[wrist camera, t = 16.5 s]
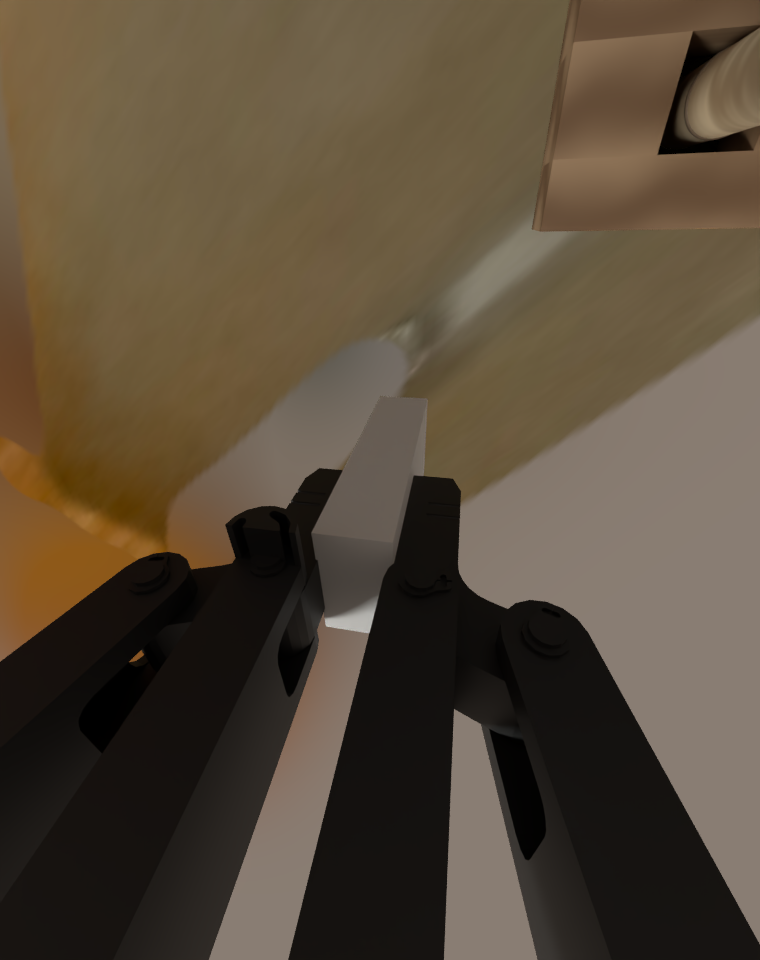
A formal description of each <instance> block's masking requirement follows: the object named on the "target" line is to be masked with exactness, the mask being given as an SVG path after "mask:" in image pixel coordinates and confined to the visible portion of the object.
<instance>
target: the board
mask: <svg viewBox="0 0 760 960" xmlns="http://www.w3.org/2000/svg"><path fill="white" fill-rule="evenodd" d="M758 28H760V0H570V2H569V8H568V14H567V20H566V26H565V32H564V38H563V44H562V50H561V56H560V62H559V68H558V75H557V81H556V87H555V93H554V99H553V105H552V111H551V117H550V123H549V129H548V135H547V141H546V147H545V153H544V159H543V165H542V171H541V177H540V183H539V190H538V196H537V202H536V208H535V214H534V220H533V226H532V229H533V230H537V231H601V230H661V229H721V228H760V126H756V127H753V128H750V129H746V130H743V131H740V132H737V133H733V134H731V135H729V136H726V137H724V138H720V140H719V143H718V146H717V149H716V152H710V153H689V154H667V155H657V154H658V150H659V147H660V143H661V140H662V136H663V133H664V129H665V126H666V123H667V119H668V116H669V112H670V109H671V105H672V102H673V98H674V95H675V91H676V88H677V85H678V81H679V78H680V74H681V71H682V67H683V64H684V60H685V57H697V56H709V55H716V54H718V53H719V52H721V51H722V50H724V49H725V48H727V47H729V46H731V45H733V44H735V43H737V42H738V41H740V40H741V39H743V38H744V37H746V36H748V35H749V34H751V33H752V32H754V31H755V30H757V29H758Z"/></svg>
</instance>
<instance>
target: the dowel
mask: <svg viewBox="0 0 760 960" xmlns="http://www.w3.org/2000/svg"><path fill="white" fill-rule="evenodd" d="M756 126H760V28H758V29H757V30H755V31H754V32H752V33H751V34H749V35H748V36H746V37H744V38H743V39H741V40H740V41H738V42H737V43H735V44H733V45H731V46H729V47H727V48H725V49H724V50H722V51H721V52H719V53H718V54H716V55H715V56H714V57H713V58H712V59H710V60H709V61H707V62H706V63H704V64H702V65H701V66H699V67H698V68H696V69H695V70H693V71H692V72H690V73H688V74H687V75H685V76H684V77H682V78H681V79H679V81H678V85H677V88H676V91H675V95H674V98H673V102H672V105H671V109H670V112H669V116H668V119H667V123H666V126H665V129H664V133H663V136H662V140H661V143H660V145H661V146H662V147H664V148H666V149H669V150H680V149H684V148H687V147H690V146H694V145H697V144H700V143H704V142H707V141H710V140H717V139H720V138H724V137H726V136H729V135H731V134H733V133H737V132H740V131H743V130H746V129H750V128H753V127H756Z"/></svg>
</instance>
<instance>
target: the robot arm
mask: <svg viewBox="0 0 760 960" xmlns="http://www.w3.org/2000/svg"><path fill="white" fill-rule="evenodd" d="M427 400H428V399H422V398H404V397H385V396H384V397H383V396H380V398H379V400H378V402H377V404H376V406H375V408H374V410H373V412H372V414H371V416H370V418H369V420H368V422H367V424H366V426H365V428H364V430H363V432H362V434H361V436H360V438H359V439H358V441H357V443H356V445H355V447H354V449H353V451H352V453H351V455H350V457H349V459H348V461H347V463H346V465H345V467H344V469H343V470H333V469H322V468H319V469H318V470H317V471H315V472H314V473H312V474H311V475H309V476H308V477H306V478H305V480H304V481H303V483H302V485H301V486H300V488H299V489H298V493H296V494H295V496H294V497H293V499H292V500H291V503H290V504H289V505H288V507H287V508H286V509H284V508H280V507H276V506H261V507H257V508H253V509H249V510H246V511H244V512H242V513H240V514H238V515H237V516H235V517H234V518H232V519H231V520H230V521H229V522H228V523H227V524H226V528H227V532H228V535H229V538H230V541H231V544H232V548H233V550H234V554H235V557H236V558H235V560H234V561H233V563H232V564H227V565H222V566H215V567H207V568H199V569H191V568H190V566H189V563H188V561H187V559H186V558H184V557H183V556H181V555H180V554H176V553H171V552H164V553H156V554H152V555H149V556H146V557H143V558H140V559H138V560H137V561H135V562H133V563H132V564H130V565H128V566H127V567H125V568H124V569H123V570H121V571H120V572H118V573H117V574H116V575H115V576H113V577H112V578H111V579H109V580H108V581H107V582H105V583H104V584H103V585H101V586H100V587H99V588H97V589H96V590H95V591H93V592H92V593H91V594H89V595H88V596H87V597H85V598H84V599H83V600H81V601H80V602H79V603H77V604H76V605H75V606H73V607H72V608H71V609H70V610H68V611H67V612H66V613H64V614H63V615H62V616H60V617H59V618H58V619H56V620H55V621H54V622H52V623H51V624H50V625H48V626H47V627H46V628H44V629H43V630H42V631H40V632H39V633H38V634H36V635H35V636H34V637H32V638H31V639H30V640H28V641H27V642H26V643H24V644H23V645H22V646H20V647H19V648H18V649H17V650H15V651H14V652H13V653H12V654H10V655H9V656H7V657H6V658H5V659H3V660H2V661H1V662H0V960H209V957H210V954H211V951H212V948H213V946H214V943H215V940H216V937H217V934H218V931H219V928H220V926H221V923H222V920H223V917H224V914H225V912H226V909H227V906H228V903H229V900H230V897H231V894H232V892H233V889H234V886H235V883H236V880H237V877H238V875H239V872H240V869H241V866H242V863H243V860H244V857H245V855H246V852H247V849H248V846H249V843H250V840H251V838H252V835H253V832H254V829H255V826H256V823H257V820H258V817H259V815H260V812H261V809H262V806H263V803H264V801H265V798H266V795H267V792H268V789H269V786H270V784H271V781H272V778H273V775H274V772H275V769H276V767H277V764H278V761H279V758H280V755H281V752H282V749H283V746H284V743H285V741H286V738H287V735H288V732H289V730H290V727H291V724H292V721H293V718H294V715H295V712H296V710H297V707H298V704H299V701H300V698H301V695H302V692H303V690H304V687H305V684H306V681H307V678H308V675H309V672H310V670H311V667H312V664H313V661H314V658H315V656H316V653H317V649H318V642H319V639H318V634H317V628H318V625H319V623H320V620H321V617H322V615H323V612H324V617H325V623H326V626H327V627H334V628H340V629H347V630H352V631H359V632H365V633H369V637H368V641H367V645H366V650H365V653H364V657H363V661H362V665H361V669H360V674H359V678H358V682H357V685H356V689H355V694H354V697H353V702H352V705H351V709H350V713H349V717H348V722H347V726H346V730H345V734H344V738H343V742H342V746H341V750H340V754H339V758H338V762H337V766H336V770H335V774H334V778H333V782H332V786H331V790H330V794H329V798H328V802H327V806H326V810H325V814H324V818H323V822H322V826H321V830H320V834H319V838H318V842H317V847H316V850H315V854H314V858H313V862H312V866H311V870H310V874H309V879H308V883H307V886H306V890H305V894H304V899H303V903H302V907H301V911H300V915H299V919H298V923H297V927H296V931H295V935H294V939H293V943H292V947H291V951H290V955H289V959H288V960H444V941H445V916H446V890H447V867H448V866H447V865H448V841H449V817H450V791H451V767H452V766H451V764H452V742H453V716H454V709H455V710H457V711H459V712H461V713H462V714H464V715H466V716H468V717H470V718H471V719H473V720H475V721H477V722H479V723H480V724H481V726H482V730H483V734H484V739H485V742H486V747H487V751H488V755H489V759H490V763H491V767H492V772H493V776H494V780H495V784H496V788H497V793H498V797H499V801H500V805H501V809H502V813H503V817H504V822H505V826H506V830H507V834H508V838H509V842H510V847H511V851H512V855H513V859H514V863H515V867H516V871H517V875H518V880H519V884H520V888H521V892H522V896H523V901H524V905H525V909H526V913H527V917H528V921H529V925H530V930H531V934H532V938H533V942H534V946H535V950H536V955H537V959H538V960H760V944H759V942H758V941H757V939H756V937H755V935H754V933H753V931H752V930H751V928H750V926H749V924H748V922H747V921H746V919H745V917H744V915H743V913H742V912H741V910H740V908H739V906H738V904H737V902H736V900H735V899H734V897H733V895H732V893H731V891H730V890H729V888H728V886H727V884H726V882H725V880H724V879H723V877H722V875H721V873H720V871H719V870H718V868H717V866H716V864H715V862H714V861H713V859H712V857H711V855H710V853H709V851H708V850H707V848H706V846H705V845H704V843H703V841H702V839H701V837H700V835H699V833H698V832H697V830H696V828H695V826H694V824H693V822H692V821H691V819H690V817H689V815H688V813H687V812H686V810H685V808H684V806H683V804H682V802H681V801H680V799H679V797H678V795H677V793H676V792H675V790H674V788H673V786H672V784H671V783H670V781H669V779H668V777H667V775H666V773H665V771H664V770H663V768H662V766H661V764H660V762H659V761H658V759H657V757H656V755H655V753H654V751H653V750H652V748H651V746H650V744H649V743H648V741H647V739H646V737H645V735H644V733H643V732H642V730H641V728H640V726H639V724H638V722H637V721H636V719H635V717H634V715H633V713H632V712H631V710H630V708H629V706H628V704H627V703H626V701H625V699H624V697H623V695H622V694H621V692H620V690H619V688H618V686H617V684H616V683H615V681H614V679H613V677H612V675H611V674H610V672H609V670H608V668H607V666H606V664H605V662H604V661H603V659H602V657H601V655H600V654H599V652H598V650H597V648H596V646H595V644H594V643H593V641H592V639H591V637H590V635H589V633H588V632H587V631H586V630H585V628H584V627H583V626H582V624H581V623H580V622H579V621H578V619H576V618H575V617H574V616H572V615H571V614H570V613H568V612H567V611H566V610H564V609H563V608H560V607H558V606H555V605H553V604H550V603H548V602H543V601H534V600H528V601H523V602H519V603H515V604H514V605H513V606H511V607H510V608H509V609H506V608H504V607H501V606H499V605H497V604H494V603H492V602H489V601H487V600H486V599H484V598H482V597H480V596H478V595H477V594H476V593H474V592H473V591H472V590H471V589H469V588H468V587H467V585H466V584H465V583H464V581H463V580H462V578H461V576H460V574H459V570H458V547H459V523H460V520H459V519H460V499H461V491H460V489H459V488H458V486H457V484H456V483H455V481H454V480H453V479H450V478H439V477H427V476H423V475H424V460H425V440H426V420H427ZM141 650H142V652H143V653H144V656H142V657H141V658H140V659H138V660H137V661H134V662H129V661H130V660H131V659H132V658H133V657H134V656H135V655H136V654H137V653H138V652H139V651H141Z"/></svg>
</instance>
